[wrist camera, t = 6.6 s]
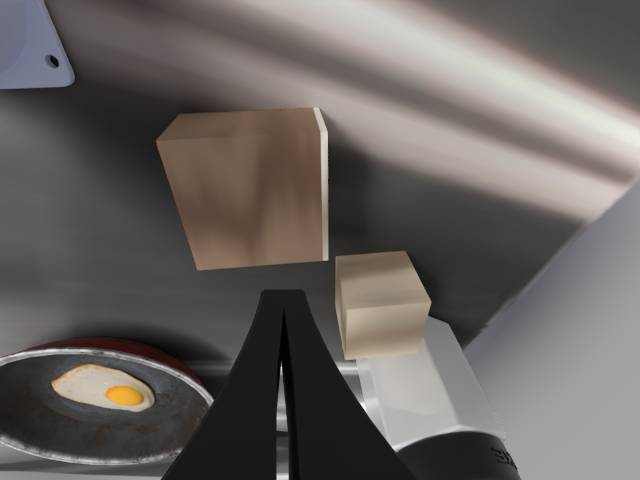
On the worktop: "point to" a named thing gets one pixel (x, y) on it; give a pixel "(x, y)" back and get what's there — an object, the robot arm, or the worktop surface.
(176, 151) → the walnut block
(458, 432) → the jar
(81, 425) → the frying pan
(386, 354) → the maple block
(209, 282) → the worktop surface
